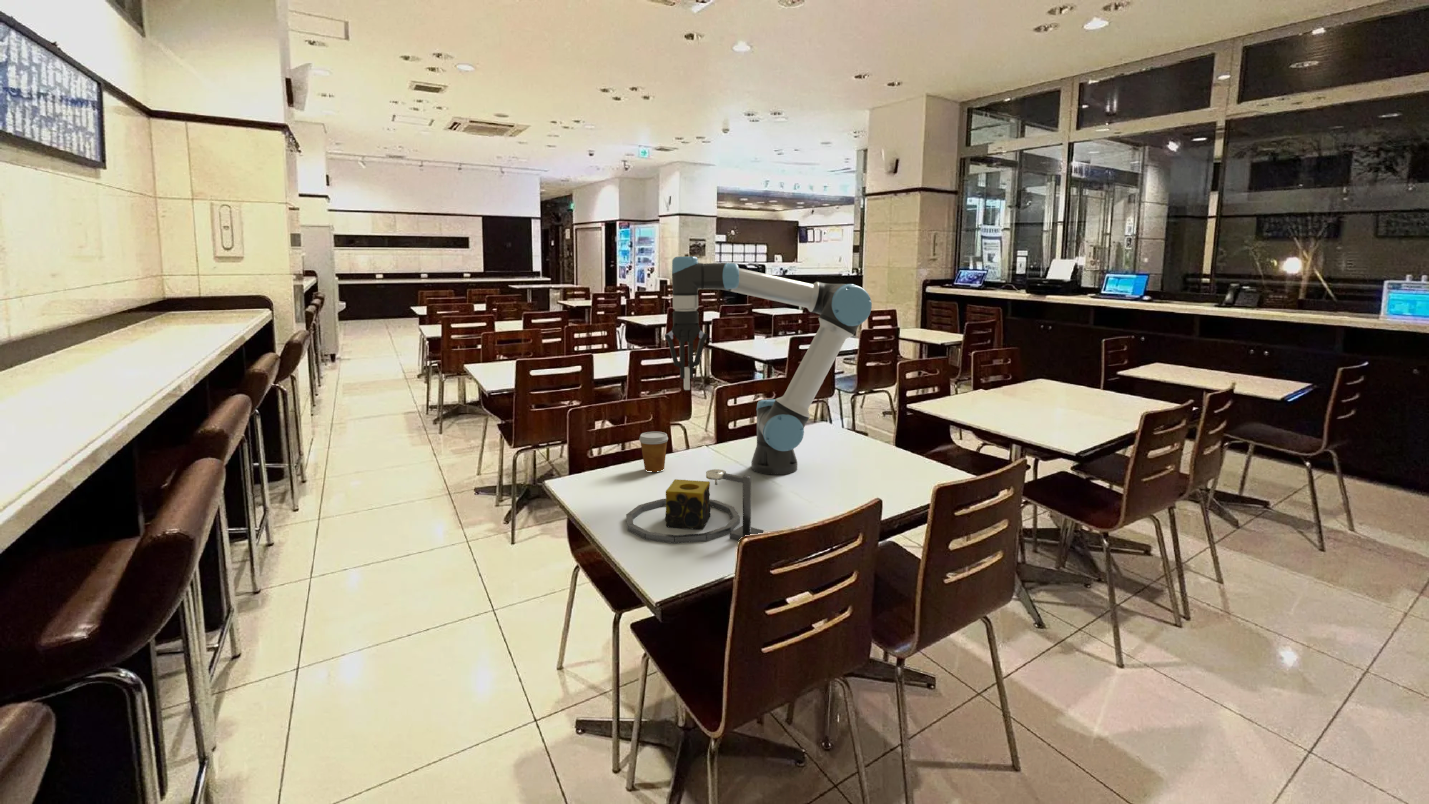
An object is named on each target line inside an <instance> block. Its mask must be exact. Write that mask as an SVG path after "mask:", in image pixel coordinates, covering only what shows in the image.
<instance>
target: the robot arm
mask: <svg viewBox="0 0 1429 804" xmlns="http://www.w3.org/2000/svg"><path fill="white" fill-rule="evenodd" d="M671 263H672V264H671V282H672V283H671V284H672V287H671V289H672V309H673V312H672V327H671V330H670V331H669V332H668V333H665V334H664V338H665V340H666V341H667V344H668V347H669V350H670V354H671V357H672V358H671V359H672V363H673V365H674V366H675V367H677V368H679V377H680V379H682V380H683V389H684V391H690V390H691V380H690V379H693V378H694V368H695V367H697V366H699V365H700V364H701V363H700V361H701V358H702V353H703V349H704V344H705V341H706V340H707V338H708V337H709V336H708V334H707V332H703V331H702V330H701V327H700V325H699V323H700V321H699V311H698V309H699V290H722V291H727V292H732V293H736V294H737V293H738V294H741V295H747V296H751V297H755V298H760V299H765V300H768V301H772V302H773V301H774V302H779V303H783V304H787V305H792V306H797V307H801V308H806V309H807V310H808V312H810V313H813V314H817V315H819V317H818V321H819V328H818V330H817V331H816V334H814V336H813V339H812V341H811V342H810V344H809V346H808V348H807V351H806V353H805V354H804V356H803V358H802V359H801V362H800V363H799V365H798V367H797V369H796V371H795V373H794V375H793V377H792V379H791V380H790V383H789V384H788V386H787V389H786V391H785V392H784V394H783V395H782V396H780V397H777V398H775V399H774V398H773V399H760V400H758V402H757V404H756V409H755V410H756V447H755V450H754V453H753V456H752V458H751V465H750V467H751V470H752V471H754V472H756V473H759V474H764V475H788V474H791V473H794V472H796V471H797V470H798V459H797V457H796V453H795V450H794V449H796V448H797V447H798V446H799V445H800V444H801V443H802V441H803V439H804V434H805V427H806V425H807V423H808V421H809V420H810V417H811V414H810V412H809V411H810V410H809V409H810V407H811V405H812V403H813V401H814V399H815V397H816V396H817V394H818V392H819V390H820V389H821V386H822V385H823V383H824V380H825V379H826V377H827V375H828V373H829V371H830V369H831V368H832V366H833V364H834V362H835V360H836V358H837V356H838V354H839V353H840V351H841V349H842V347H843V345H844V343H845V342H846V340H848V339H849V338H851V337H854V336H855V334H856V332H857V330H858V329H859V326H860V325H862V324H863V323H865V321H866V320H867V319H868V318H869V316H870V315H871V311H872V299H871V296H870V294H869V293H868V291H866V289H864V288H863V287H861V286H859V285H856V284H854V283H826V282H821V281H815V282H814V283H810V282H804V281H800V280H796V279H791V278H787V277H781V276H776V275H771V274H767V273H763V272H758V271H754V270H750V269H749V270H748V269H745V268H740V267H739V265H738V263H736V262H734V263H731V262H715V263H714V262H713V263H711V262H710V263H709V262H708V263H702V262H699V260H698V257H697V256H674V257H673V259H672V260H671ZM674 337H675V338H676V340H678V345H679V346H678V347H679V350H678V351H679V359H678V356H677V353H676V347H675V345H674V342H673V339H674ZM697 337H698V338H699V339H698V344H697V347H696V348H697V349H696V352H695V357H694V341H695V339H696V338H697ZM685 342H687V362H688V363H687V365H688V366H686V363H685V362H686V361H685V360H686V359H685V355H686V354H685V345H686V343H685Z"/></svg>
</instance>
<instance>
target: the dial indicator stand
mask: <svg viewBox="0 0 1429 804" xmlns="http://www.w3.org/2000/svg"><path fill="white" fill-rule="evenodd" d="M705 477H706V479H708V480H711V481H714V485H715V486H717V485H718V481H720V480H726V481H729V482H730V481H731V482H734V483H735V482H736V483H740V484H742V525H741V526H739V527H738V528H737V527H736V528H735V529H734V530H733V531H732V532H730V534H729V539H730V540H734V541H738V540H739V539H740V538H741V537H744V536H745V535H750V534H758V533H763V532H765V531H764V530H765V529H764V530H763V529H759V528H756V527H752V510H751V509H752V477H751V475H737V474H732V473H727V471H726V470H723V469H716V468H715V469H709V470H707V471H705ZM738 542H739V541H738Z"/></svg>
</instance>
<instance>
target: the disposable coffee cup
mask: <svg viewBox="0 0 1429 804" xmlns="http://www.w3.org/2000/svg"><path fill="white" fill-rule="evenodd" d="M638 440H639V442H640V446H641V454H642V459H643V466H644V470H645V469H646V470H647V471H652V472H657V471H661V470H663V469H664V470H665V464H666V456H667V455H666V454H667V445H668V440H669V437H668V434H667V433H666V432H662V431H647V432H642V433H640V436H639V438H638Z"/></svg>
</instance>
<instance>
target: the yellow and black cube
mask: <svg viewBox="0 0 1429 804" xmlns="http://www.w3.org/2000/svg"><path fill="white" fill-rule="evenodd" d="M710 486H711V481H708V480H705V481H704V480H693V479H692V480H690V479H677V478H676V479H673V480H672V483H670V486H669V487H668V488H667V489H666V490H665V499H666V506H665V518H664V519H665V520H664V521H665V528H672V529H685V530H700V531H701V530H703V529H704V528H705V527H706V525H707V523H708V521H709V520H710V519H711V517H712V515H711V514H712V513H711V510H712V508H711V506H710V496H711V494H710V493H711V492H710Z"/></svg>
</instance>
